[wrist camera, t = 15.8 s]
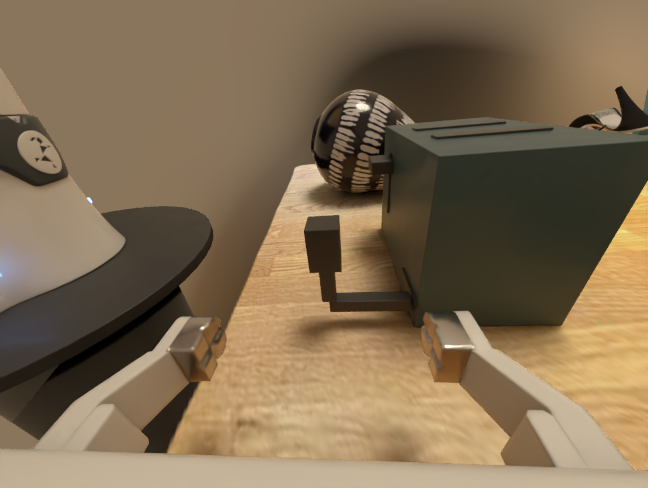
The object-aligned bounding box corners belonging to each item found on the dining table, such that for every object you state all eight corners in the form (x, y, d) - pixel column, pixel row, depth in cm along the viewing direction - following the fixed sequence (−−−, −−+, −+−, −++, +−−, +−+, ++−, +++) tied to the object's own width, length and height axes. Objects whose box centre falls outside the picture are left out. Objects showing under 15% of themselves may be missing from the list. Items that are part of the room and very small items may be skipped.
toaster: (386, 332, 17) (398, 157, 11) (365, 228, 32) (366, 126, 25) (567, 330, 16) (688, 136, 10) (461, 224, 31) (486, 115, 24)
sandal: (575, 133, 59) (598, 189, 56) (541, 135, 58) (563, 192, 55) (664, 77, 45) (703, 148, 41) (622, 78, 44) (658, 151, 40)
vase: (316, 64, 32) (555, 116, 28) (337, 95, 47) (495, 132, 43) (293, 184, 38) (489, 240, 34) (318, 178, 52) (456, 217, 48)
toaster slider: (316, 317, 17) (303, 230, 14) (318, 298, 19) (307, 216, 15) (412, 316, 17) (425, 225, 13) (405, 296, 18) (415, 210, 15)
